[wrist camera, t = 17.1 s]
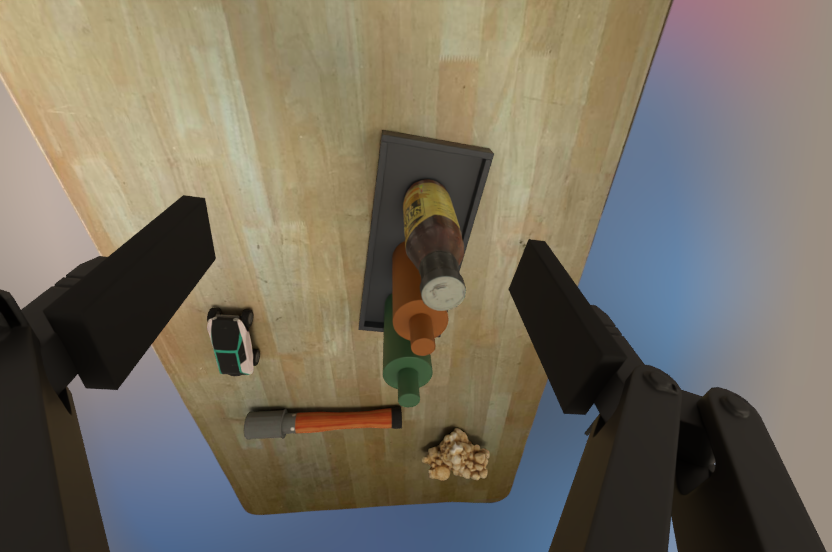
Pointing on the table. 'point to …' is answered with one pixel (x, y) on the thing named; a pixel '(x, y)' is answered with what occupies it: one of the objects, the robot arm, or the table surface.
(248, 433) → the stick grenade
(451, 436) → the mineral formation
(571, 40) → the table surface
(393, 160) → the tray
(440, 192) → the sauce bottle
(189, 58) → the table surface
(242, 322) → the toy car
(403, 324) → the amber bottle
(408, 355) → the green bottle
